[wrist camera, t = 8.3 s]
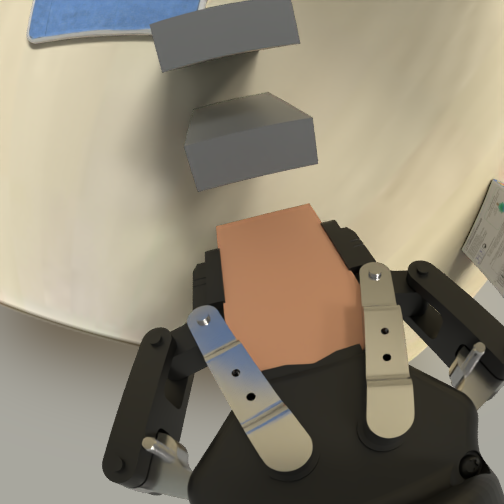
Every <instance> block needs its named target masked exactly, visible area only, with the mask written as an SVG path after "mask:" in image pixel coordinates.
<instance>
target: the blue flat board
mask: <svg viewBox="0 0 504 504" xmlns="http://www.w3.org/2000/svg"><path fill="white" fill-rule="evenodd" d="M206 2H207V0H33V3H32V8H31V12H30V17H29V22H28V28H27V39H28V40H29V42H31V43H34V44H38V43H45V42H51V41H58V40H65V39H73V38H84V37H100V36H120V35H152V33H151V29H150V25H149V24H152V23H155V22H158V21H161V20H165V19H168V18H171V17H175V16H178V15H182V14H185V13H189V12H193V11H197V10H201V9H205V6H206Z"/></svg>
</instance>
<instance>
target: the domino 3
mask: <svg viewBox="0 0 504 504" xmlns="http://www.w3.org/2000/svg"><path fill="white" fill-rule="evenodd" d="M320 223H322V222H321V221H320V219H319V218H318V216H317V214H316V213H315V211H314V210H313V208H312V207H311V205H310V204H305V205H301V206H296V207H292V208H288V209H284V210H280V211H276V212H271V213H267V214H263V215H259V216H255V217H251V218H247V219H243V220H239V221H235V222H231V223H227V224H224V225H220V226H216V231H217V243H218V248H220V255H221V265H222V275H223V284H224V293H225V302H226V303H223V306H224V315H225V323H226V324H227V326H228V327H229V329H230V330H231V332H232V333H233V335H234V336H235V338H236V339H237V340H239V341H240V342H241V343H242V345H243V346H244V348H245V349H246V351H247V352H248V354H249V355H250V357H251V358H252V360H253V361H254V362H255V364H256V365H257V367H258V368H259V370H260V371H263V370H267V369H271V368H275V367H279V366H283V365H295V364H312V363H315V362H317V361H319V360H321V359H323V358H324V357H326V356H328V355H330V354H332V353H333V352H335V351H337V350H340V349H343V348H347V347H350V346H353V345H356V344H360V346H361V348H362V350H364V341H363V332H362V311H361V295H360V284H359V283H358V281H357V279H356V278H355V276H354V274H353V273H352V271H349V270H348V268H347V267H346V265H345V263H344V261H343V260H342V258H341V256H340V255H339V253H338V251H337V250H336V248H335V246H334V245H333V243H332V242H331V240H330V238H329V237H328V235H327V233H326V232H325V230H324V229H323V227H322V225H321V224H320ZM261 373H262V372H261Z"/></svg>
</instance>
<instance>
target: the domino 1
mask: <svg viewBox="0 0 504 504" xmlns="http://www.w3.org/2000/svg"><path fill="white" fill-rule="evenodd" d="M149 25H150V29H151V33H152V37H153V40H154V44H155V48H156V51H157V55H158V59H159V62H160V66H161V70H162V73H163V72H167V71H171V70H175V69H179V68H183V67H187V66H191V65H194V64H198V63H202V62H206V61H210V60H214V59H218V58H223V57H227V56H232V55H237V54H242V53H247V52H253V51H259V50H264V49H269V48H275V47H281V46H287V45H294V44H300V40H299V35H298V30H297V25H296V20H295V16H294V11H293V7H292V3H291V0H249V1H242V2H236V3H230V4H225V5H220V6H215V7H210V8H206V9H201V10H197V11H193V12H189V13H185V14H182V15H178V16H175V17H171V18H168V19H165V20H161V21H158V22H155V23H152V24H149Z"/></svg>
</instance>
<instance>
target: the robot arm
mask: <svg viewBox="0 0 504 504" xmlns="http://www.w3.org/2000/svg"><path fill="white" fill-rule="evenodd" d="M320 224H321V225H322V227H323V229H324V230H325V232H326V233H327V235H328V237H329V238H330V240H331V242H332V243H333V245H334V246H335V248H336V250H337V251H338V253H339V255H340V256H341V258H342V260H343V261H344V263H345V265H346V267H347V268H348V270H349V271H352V273H353V274H354V276H355V278H356V279H357V281H358V283H359V284H360V295H361V311H362V332H363V341H364V350H362V348H361V346H360V344H356V345H353V346H350V347H347V348H343V349H340V350H337V351H335V352H333V353H332V354H330V355H328V356H326V357H324V358H323V359H321V360H319V361H317V362H315V363H312V364H295V365H283V366H279V367H275V368H271V369H267V370H263V371H260V370H259V368H258V367H257V365H256V364H255V362H254V361H253V360H252V358H251V357H250V355H249V354H248V352H247V351H246V349H245V348H244V346H243V345H242V343H241V342H240V341H239V340H237V339H236V338H235V336H234V335H233V333H232V332H231V330H230V329H229V327H228V326H227V324H226V323H225V315H224V306H223V303H226V302H225V293H224V284H223V275H222V265H221V255H220V248H218V249H214V250H210V251H206V252H205V263H201V264H197V266H196V268H195V269H194V271H193V311H192V312H191V313H190V314H189V316H188V318H187V323H185V324H184V325H183V326H181V327H179V328H177V329H175V330H173V331H171V332H170V331H169V330H168V329H166V328H155V329H152V330H151V331H149V332H148V333H147V334H146V335H145V336H144V338H143V340H142V342H141V345H140V347H139V350H138V353H137V356H136V358H135V361H134V364H133V367H132V370H131V372H130V375H129V378H128V381H127V384H126V388H125V390H124V393H123V396H122V399H121V402H120V405H119V408H118V411H117V414H116V417H115V421H114V424H113V427H112V431H111V434H110V437H109V441H108V444H107V447H106V451H105V454H104V458H103V462H102V469H103V472H104V474H105V476H106V477H107V478H108V479H109V480H110V481H112V482H115V483H118V484H121V485H123V486H124V487H126V488H129V489H132V490H135V491H139V492H142V493H148V494H152V495H162V494H164V495H169V496H173V497H177V498H182V499H187V500H189V501H190V504H504V494H503V491H502V488H501V485H500V483H499V480H498V478H497V476H496V475H495V474H494V473H493V471H492V470H491V469H490V468H489V466H488V465H487V464H486V462H485V461H484V460H483V458H482V456H481V454H480V452H479V447H478V413H477V410H478V409H479V408H480V407H481V406H482V405H483V404H484V403H485V402H486V401H488V400H490V399H491V398H492V397H493V396H494V395H495V394H496V393H497V392H498V391H499V390H500V389H501V388H502V387H503V386H504V326H503V325H502V324H501V323H500V322H499V321H498V320H496V319H495V318H494V317H493V316H492V315H491V314H490V313H489V312H488V311H486V309H484V308H483V307H482V306H481V305H480V304H479V303H478V302H477V301H475V300H474V299H473V298H472V297H471V296H470V295H469V294H467V293H466V292H465V291H464V290H463V289H462V288H460V287H459V286H458V285H457V284H456V283H454V282H453V281H452V280H451V279H450V278H448V277H447V276H446V275H445V274H444V273H442V272H441V271H440V270H439V269H437V268H436V267H435V266H434V265H432V264H431V263H429V262H426V261H414V262H412V263H411V264H410V265H409V267H408V270H407V271H391V270H389V268H388V267H387V266H386V265H384V264H382V263H379V262H376V261H375V259H374V258H373V256H372V255H371V254H370V252H369V251H368V249H367V248H366V247H365V245H363V242H362V241H361V240H360V239H359V237H358V236H357V234H356V233H355V232H354V231H352V230H351V229H349V228H347V227H345V228H340V226H339V225H338V224H337V222H336V221H335V220H331V221H327V222H323V223H320ZM429 304H430V305H429ZM433 307H434V308H435V309H436V310H437V311H438V312H439V313H440V314H441V315H440V314H439V313H438V312H437V311H436V310H435V309H434V308H433ZM403 320H404V321H405V322H406V323H407V324H408V325H409V326H410V327H411V328H412V329H413V330H414V331H415V332H416V333H417V334H418V335H419V336H420V338H421V339H422V340H423V341H424V342H425V343H426V344H427V345H428V346H429V347H430V348H431V349H432V350H433V351H434V352H435V353H436V354H437V355H438V356H439V358H440V359H441V360H442V361H443V362H444V363H445V364H446V365H447V366H448V367H449V368H450V369H449V377H450V379H451V384H452V386H453V387H451V386H450V385H448V384H446V383H444V382H442V381H439V380H438V379H436V378H434V377H432V376H430V375H428V374H426V373H424V372H422V371H420V370H418V369H416V368H414V367H412V366H410V365H408V356H407V347H406V339H405V332H404V325H403ZM207 366H208V367H209V369H210V371H211V373H212V375H213V376H214V378H215V380H216V382H217V384H218V386H219V387H220V389H221V391H222V392H223V395H224V396H225V398H226V400H227V401H228V403H229V405H230V407H231V409H232V410H231V412H230V414H229V415H228V417H227V419H226V420H225V422H224V423H223V425H222V427H221V428H220V430H219V431H218V433H217V435H216V436H215V438H214V439H213V441H212V442H211V444H210V446H209V447H208V449H207V450H206V452H205V453H204V455H203V457H202V458H201V460H200V461H199V463H198V464H197V466H196V467H195V469H194V470H193V471H192V470H191V469H190V467H189V464H188V452H187V450H186V448H185V447H184V446H183V445H182V444H181V443H179V441H180V437H181V432H182V427H183V423H184V418H185V414H186V408H187V405H188V400H189V395H190V391H191V387H192V382H193V378H194V373H195V372H197V371H199V370H201V369H203V368H205V367H207ZM261 372H262V373H261ZM454 387H455V388H454Z"/></svg>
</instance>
